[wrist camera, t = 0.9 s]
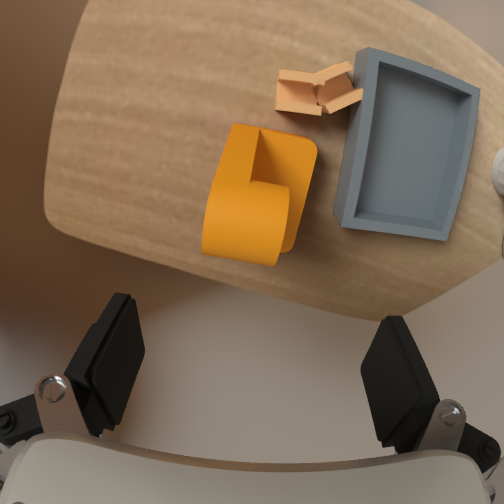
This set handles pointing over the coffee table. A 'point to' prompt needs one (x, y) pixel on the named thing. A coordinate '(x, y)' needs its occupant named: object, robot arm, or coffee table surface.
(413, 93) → the gray tray
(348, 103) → the clip
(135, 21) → the coffee table surface
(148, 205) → the coffee table surface
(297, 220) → the bracket
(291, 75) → the clip
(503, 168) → the cup
